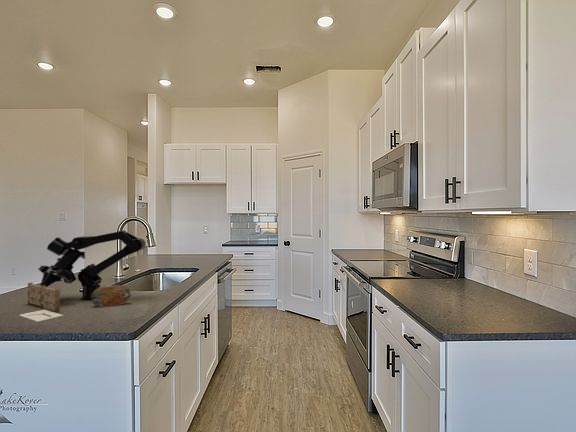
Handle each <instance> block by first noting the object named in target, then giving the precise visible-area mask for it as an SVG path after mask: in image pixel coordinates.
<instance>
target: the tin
mask: <svg viewBox="0 0 576 432" xmlns="http://www.w3.org/2000/svg"><path fill="white" fill-rule="evenodd" d="M130 298H131V291H130V289H129V288H128V287H127V286H126V285H121V284H120V285H107V286H100V287H99V288H97V289H96V290H94V292H93V293H92V295H91V302H92V305H94V306H95V307H99V308H102V307H113V306H121V305H124V304H126V303H127V302H128V301H129V300H130Z"/></svg>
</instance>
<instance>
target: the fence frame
mask: <svg viewBox="0 0 576 432" xmlns="http://www.w3.org/2000/svg"><path fill="white" fill-rule="evenodd" d="M60 293H61V289H60V288H51V287H46V286H45V285H44V286H41V306H40V309H43V310H48V311H51V312H54V313H59V312H60V309H61V308H60V307H61V305H60V304H61V303H60V302H61V301H60V300H61V299H60V298H61V296H60V295H61V294H60Z"/></svg>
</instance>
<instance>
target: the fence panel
mask: <svg viewBox="0 0 576 432" xmlns="http://www.w3.org/2000/svg"><path fill="white" fill-rule="evenodd" d="M27 304H32V305H35V306H38V307H41V286H40V285H38V284H34V283H33V282H28V283H27Z"/></svg>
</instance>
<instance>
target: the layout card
mask: <svg viewBox="0 0 576 432" xmlns="http://www.w3.org/2000/svg"><path fill="white" fill-rule="evenodd" d="M18 316H20V317H22V318H25V319H28V320H30V321H34V322H37V323H38V322H39V323H40V322H43V321H47V320H51V319H57V318H60V317H64V314H61V313H59V312H55V311H51V310H48V309H41V310H36V311H31V312H27V313H22V314H21V313H20V314H19V315H18Z"/></svg>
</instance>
